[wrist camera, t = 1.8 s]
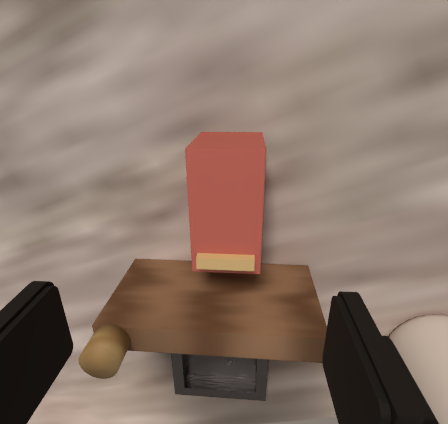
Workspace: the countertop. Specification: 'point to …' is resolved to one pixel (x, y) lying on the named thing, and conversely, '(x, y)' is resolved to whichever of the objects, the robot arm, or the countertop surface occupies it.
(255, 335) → the door board
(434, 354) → the milk bottle
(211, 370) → the tray
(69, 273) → the countertop surface
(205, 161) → the red block
